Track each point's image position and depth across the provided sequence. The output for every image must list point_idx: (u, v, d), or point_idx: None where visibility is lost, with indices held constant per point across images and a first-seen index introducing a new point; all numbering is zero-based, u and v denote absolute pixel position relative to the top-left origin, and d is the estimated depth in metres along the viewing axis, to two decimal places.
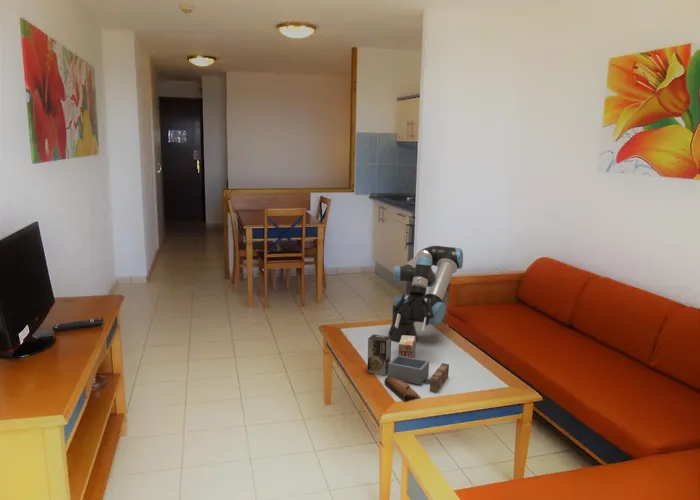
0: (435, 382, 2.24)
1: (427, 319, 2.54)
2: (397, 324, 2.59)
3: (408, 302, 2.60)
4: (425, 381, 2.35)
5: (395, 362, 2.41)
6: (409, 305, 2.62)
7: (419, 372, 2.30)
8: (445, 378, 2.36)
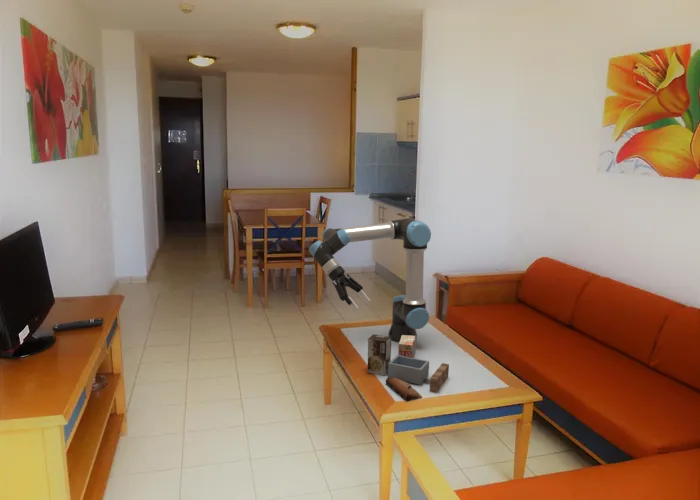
0: (435, 382, 2.24)
1: None
2: (365, 300, 2.56)
3: (345, 285, 2.55)
4: (425, 381, 2.35)
5: (395, 362, 2.41)
6: (350, 283, 2.54)
7: (419, 372, 2.30)
8: (445, 378, 2.36)
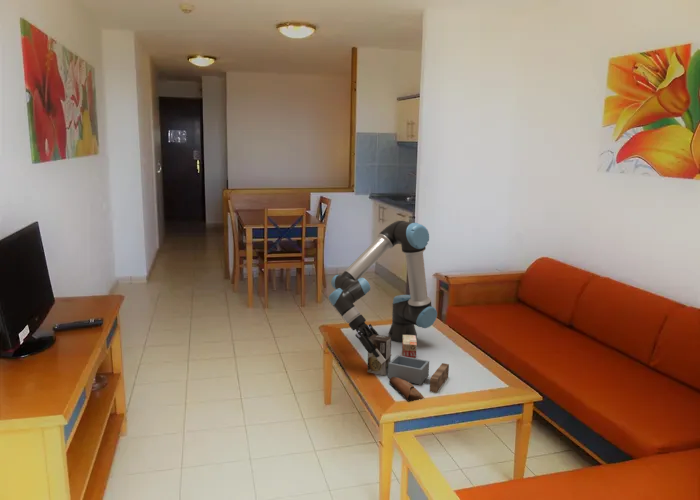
0: (435, 382, 2.24)
1: None
2: None
3: None
4: (425, 381, 2.35)
5: (395, 362, 2.41)
6: (370, 333, 2.46)
7: (419, 372, 2.30)
8: (445, 378, 2.36)
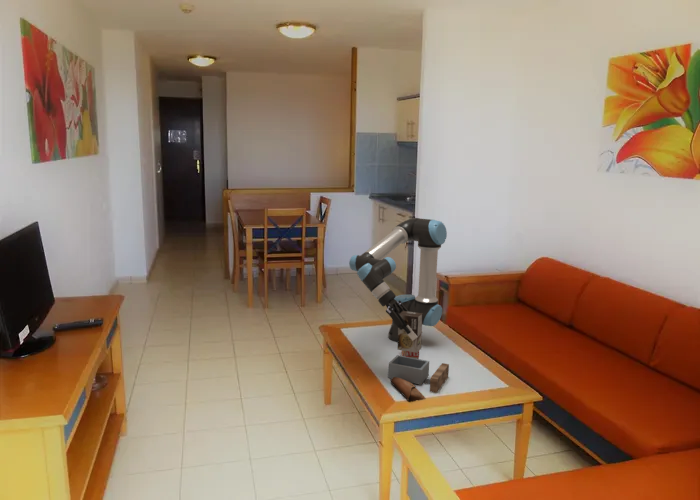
0: (435, 382, 2.24)
1: None
2: None
3: None
4: (425, 381, 2.35)
5: (395, 362, 2.41)
6: (400, 310, 2.37)
7: (419, 372, 2.30)
8: (445, 378, 2.36)
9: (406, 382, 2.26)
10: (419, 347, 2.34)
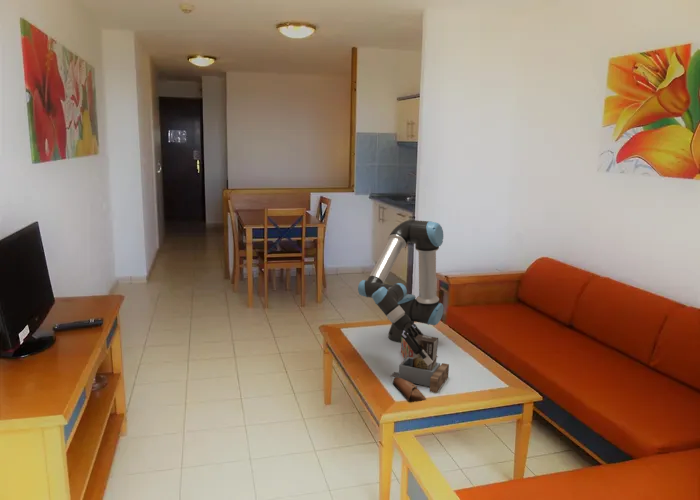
0: (435, 382, 2.24)
1: None
2: None
3: None
4: None
5: (406, 364, 2.39)
6: (415, 334, 2.36)
7: (430, 374, 2.28)
8: (445, 378, 2.36)
9: (407, 382, 2.26)
10: None
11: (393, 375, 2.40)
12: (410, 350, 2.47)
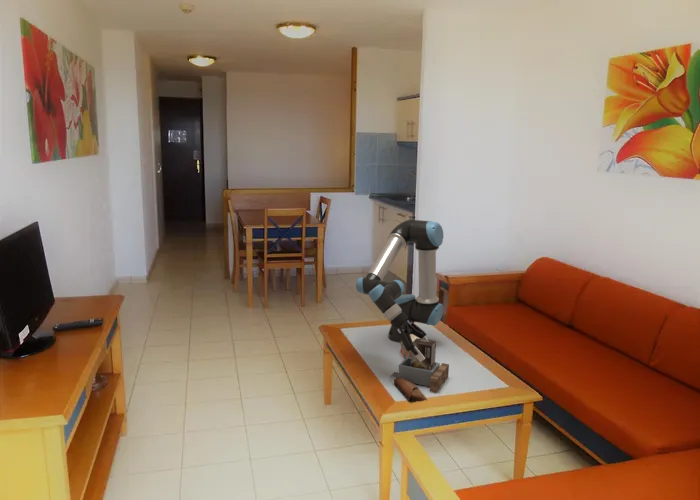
0: (435, 382, 2.24)
1: None
2: None
3: None
4: None
5: (405, 364, 2.39)
6: (413, 330, 2.37)
7: (430, 374, 2.28)
8: (445, 378, 2.36)
9: (408, 382, 2.26)
10: None
11: (393, 375, 2.40)
12: None
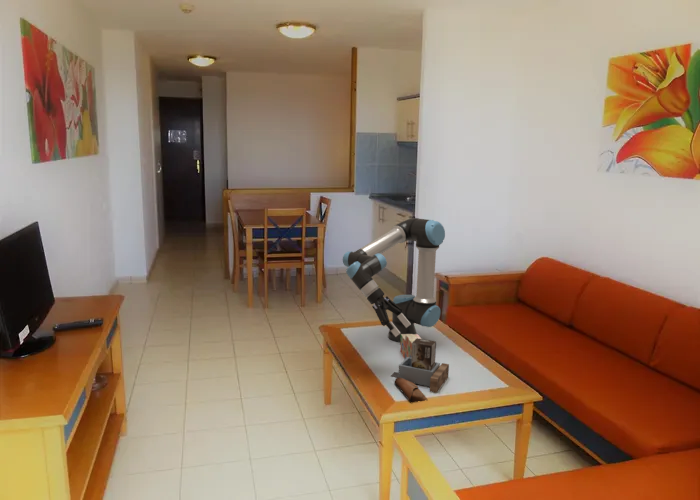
0: (435, 382, 2.24)
1: None
2: (406, 324, 2.43)
3: None
4: None
5: (405, 364, 2.39)
6: (389, 306, 2.41)
7: (430, 374, 2.28)
8: (445, 378, 2.36)
9: (409, 383, 2.25)
10: None
11: (393, 375, 2.40)
12: None
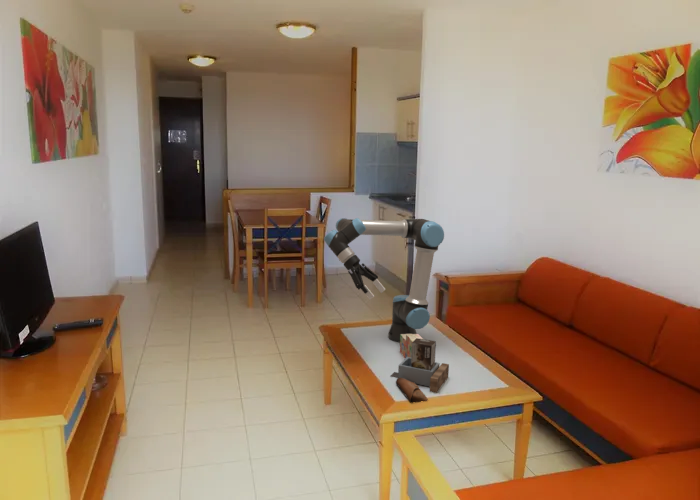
0: (435, 382, 2.24)
1: None
2: (380, 289, 2.56)
3: None
4: None
5: (405, 364, 2.39)
6: (365, 272, 2.54)
7: (430, 374, 2.28)
8: (445, 378, 2.36)
9: (410, 383, 2.25)
10: None
11: (393, 375, 2.40)
12: None
